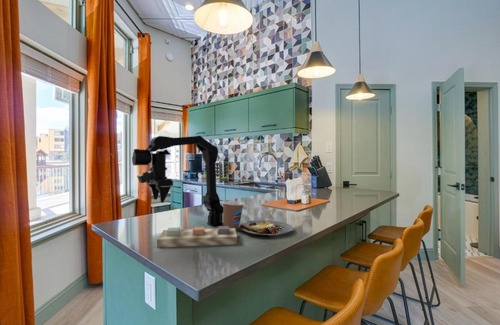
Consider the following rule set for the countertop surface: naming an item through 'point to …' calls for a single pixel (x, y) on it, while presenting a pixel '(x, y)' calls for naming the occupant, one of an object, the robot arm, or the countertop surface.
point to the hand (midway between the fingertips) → (158, 200)
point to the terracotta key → (199, 231)
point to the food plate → (265, 227)
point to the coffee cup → (232, 213)
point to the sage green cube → (173, 231)
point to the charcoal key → (223, 229)
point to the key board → (197, 238)
